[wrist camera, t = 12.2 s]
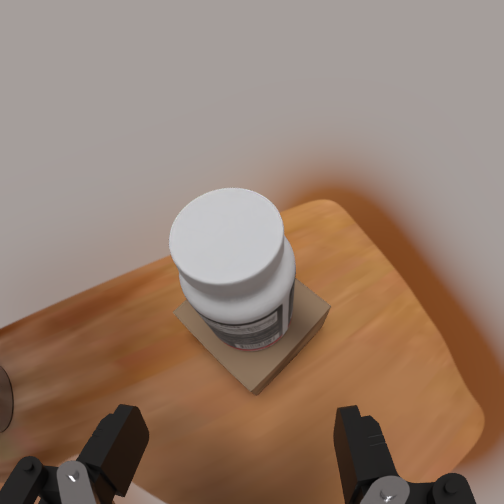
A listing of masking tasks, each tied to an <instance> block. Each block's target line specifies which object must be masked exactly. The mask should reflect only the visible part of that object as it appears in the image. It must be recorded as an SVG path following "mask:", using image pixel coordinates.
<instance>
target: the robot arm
mask: <svg viewBox="0 0 504 504" xmlns="http://www.w3.org/2000/svg"><path fill="white" fill-rule="evenodd" d="M12 405H13V400H12V391H11V386H10V382H9V379H8V377H7V375H6V373H5V371H4V370H3V368H2V367H1V366H0V432H1V431H3V430H5V429H6V428H7V426H8V424H9V422H10V419H11V415H12ZM148 441H149V431H148V428H147V426H146V424H145V421H144V419H143V417H142V414H141V412H140V410H139V408H138V407H136V406H130V405H123V404H120V405H119V406H118V407H117V409H116V410H115V412H114V414H109V415H107V416H106V417H105V418H103V419H102V420H101V421H100V423H99V424H98V426H97V428H96V430H95V431H94V432H93V434H92V437H90V439H89V440H88V442H87V444H86V445H85V447H84V448H83V450H82V452H81V453H80V455H79V457H78V458H77V459H76V461H67V462H65V463H63V464H62V465H60V467H53V466H44V465H43V464H42V463H41V462H40V461H39V459H37V458H36V457H33V456H28V457H24V458H22V459H21V460H20V461H19V462H18V464H17V465H16V467H15V468H14V470H13V471H12V473H11V474H10V476H9V478H8V479H7V481H6V482H5V484H4V486H3V487H2V489H1V491H0V504H34V502H35V500H36V498H37V497H38V496H39V497H41V499H40V501H39V503H38V504H115V503H114V501H113V498H114V496H115V495H118V496H121V497H125V495H126V493H127V490H128V488H129V486H130V483H131V481H132V479H133V476H134V474H135V472H136V469H137V467H138V465H139V462H140V460H141V458H142V455H143V453H144V451H145V448H146V446H147V444H148ZM334 447H335V452H336V457H337V462H338V467H339V472H340V477H341V483H342V488H343V494H344V500H345V504H476V502H475V499H474V496H473V494H472V492H471V489H470V486H469V484H468V482H467V480H466V478H465V477H463V476H462V475H460V474H457V473H448V474H445V475H443V476H441V477H440V478H439V479H437V481H436V482H431V483H410V482H407V481H405V480H404V479H402V478H401V477H400V476H399V475H398V474H397V471H396V469H395V466H394V463H393V460H392V458H391V455H390V452H389V449H388V447H387V444H386V443H385V439H384V436H383V435H382V431H381V428H380V425H379V423H378V422H377V421H376V420H375V419H374V418H372V417H371V416H370V415H369V416H364V417H361V415H360V412H359V409H358V407H357V405H354V406H347V407H340V408H337V412H336V420H335V426H334Z"/></svg>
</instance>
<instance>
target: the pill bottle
mask: <svg viewBox="0 0 504 504" xmlns="http://www.w3.org/2000/svg"><path fill="white" fill-rule="evenodd" d="M169 248H170V253H171V256H172V258H173V261H174V262H175V264H176V266H177V268H178V270H179V278H180V284H181V287H182V290H183V293H184V295H185V297H186V298H187V300H188V301H189V303H190V304H191V306H192V307H193V308H194V309H195V310H196V312H197V313H198V314H199V315H200V316H201V318H202V319H203V320H204V321H205V323H206V324H207V325H208V326H209V327H210V329H211V330H212V331H213V332H214V333H215V335H216V336H217V337H218V338H219V339H220V340H221V341H222V342H224V343H225V344H226V345H228V346H230V347H232V348H234V349H237V350H241V351H258V350H262V349H265V348H267V347H269V346H271V345H273V344H274V343H276V342H277V341H278V340H279V339H280V338H281V337H282V336H283V335H284V334H285V332H286V331H287V329H288V327H289V325H290V322H291V319H292V314H293V300H294V287H295V274H296V265H295V257H294V253H293V250H292V248H291V245H290V243H289V241H288V240H287V238H286V237H285V236H284V226H283V221H282V218H281V216H280V214H279V211H278V210H277V208H276V207H275V206H274V205H273V203H271V202H270V201H269V200H268V199H267V198H266V197H264V196H262V195H261V194H259V193H257V192H254V191H251V190H247V189H242V188H223V189H218V190H214V191H211V192H208V193H205V194H203V195H201V196H199V197H197V198H196V199H194V200H193V201H191V202H190V203H189V204H188V205H187V206H185V208H183V209H182V211H181V212H180V213H179V214H178V216H177V217H176V219H175V220H174V223H173V225H172V228H171V231H170V236H169Z"/></svg>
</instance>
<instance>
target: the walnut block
mask: <svg viewBox="0 0 504 504" xmlns="http://www.w3.org/2000/svg"><path fill="white" fill-rule="evenodd" d="M330 308H331V305H329V304H328V303H327V302H325V301H324V300H323V299H322V298H320V297H319V296H318V295H317V294H315V293H314V292H313V291H311V290H310V289H309V288H308V287H306V286H305V285H304V284H303V283H301V282H300V281H299V280H297V279H296V278H295V287H294V300H293V314H292V319H291V322H290V325H289V327H288V329H287V331H286V332H285V334H284V335H283V336H282V337H281V338H280V339H279V340H278V341H277V342H276V343H274V344H273V345H271V346H269V347H267V348H265V349H262V350H258V351H241V350H237V349H234V348H232V347H230V346H228V345H226V344H225V343H224V342H222V341H221V340H220V339H219V338H218V337H217V336H216V335H215V333H214V332H213V331H212V330H211V329H210V327H209V326H208V325H207V324H206V323H205V321H204V320H203V319H202V318H201V316H200V315H199V314H198V313H197V312H196V310H195V309H194V308H193V307H192V306H191V304H190V303H189V301H188V300H185V301H184V302H183V303H182V304H181V305H180V306H179V307H178V308H177V309H176V310H174V311H173V313H174V314H175V315H176V316H177V318H178V319H179V320H180V321H181V322H182V323H183V324H184V325H185V326H186V327H187V329H188V330H189V331H190V332H191V333H192V334H193V335H194V336H195V337H196V338H197V339H198V340H199V341H200V342H201V343H202V344H203V346H204V347H205V348H206V349H207V350H208V351H209V352H210V353H211V354H212V355H213V356H214V357H215V358H216V359H217V360H218V361H219V362H220V363H221V364H222V365H223V366H224V367H225V368H226V369H227V370H228V371H229V372H230V373H231V374H232V375H233V376H234V377H235V378H236V379H238V380H239V381H240V382H241V383H242V384H243V385H244V386H245V387H246V388H247V389H248V390H249V391H250V392H252V393H253V394H255V395H256V396H257V395H258V394H259V393H260V392H261V391H262V390H263V389H264V388H265V387H266V386H267V385H268V384H269V383H270V382H271V381H272V380H273V379H274V378H275V377H276V376H277V375H278V374H279V373H280V372H281V371H282V370H283V369H284V368H285V367H286V366H287V365H288V364H289V362H290V361H291V360H292V359H293V358H294V357H295V356H296V355H297V354H298V353H299V352H300V351H301V350H302V349H303V347H304V346H305V345H306V344H307V343H308V342H309V341H310V340H311V339H312V337H313V336H314V335H315V334H316V333H317V332H318V331H319V330H320V328H321V327H322V326H323V324H324V321H325V319H326V317H327V314H328V312H329V310H330Z"/></svg>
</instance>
